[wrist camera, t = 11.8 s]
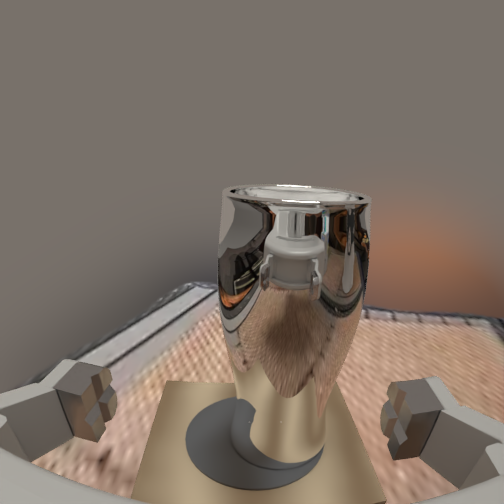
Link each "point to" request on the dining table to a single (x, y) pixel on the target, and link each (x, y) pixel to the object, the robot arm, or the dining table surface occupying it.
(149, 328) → the dining table surface
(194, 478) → the brass stand
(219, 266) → the beer glass
